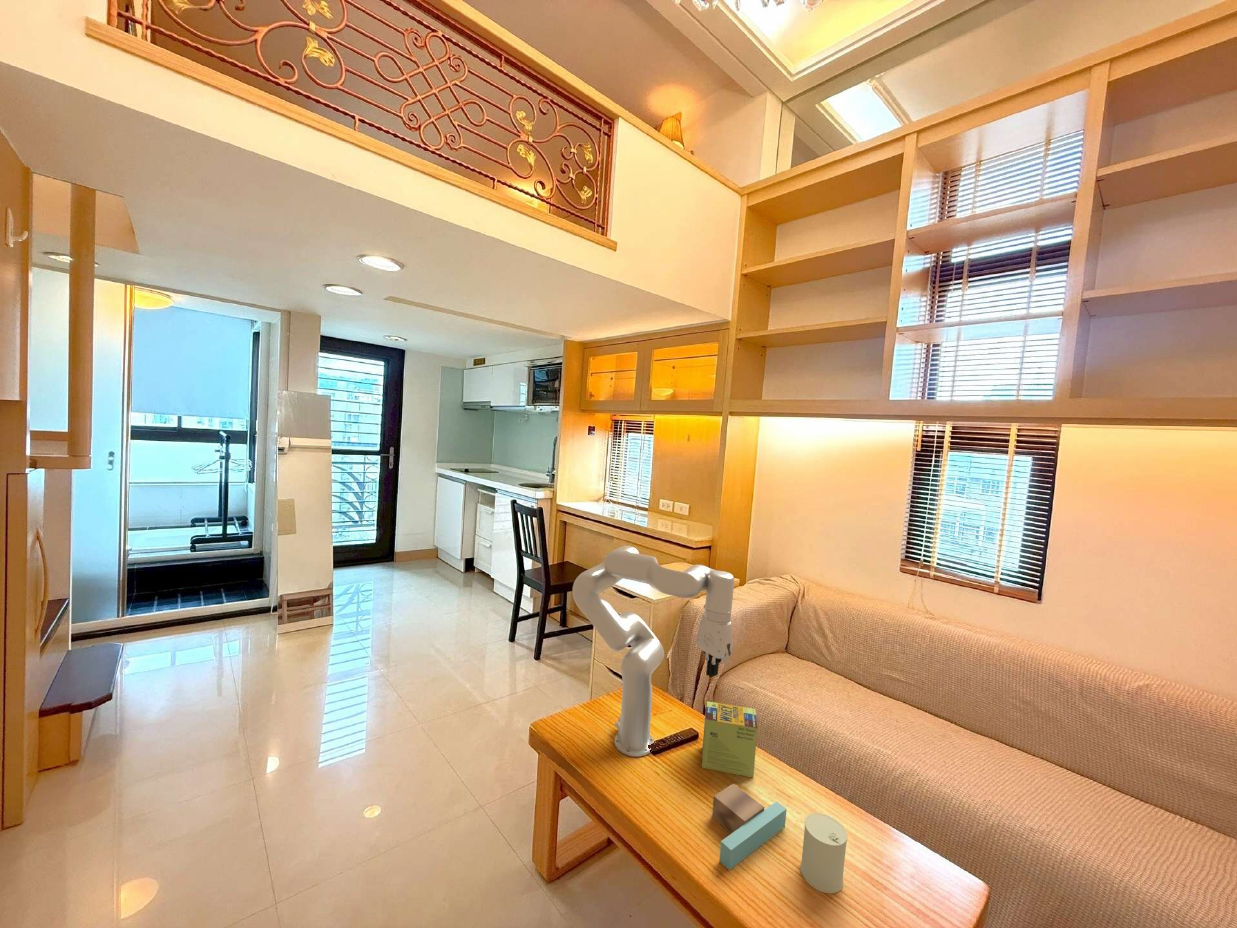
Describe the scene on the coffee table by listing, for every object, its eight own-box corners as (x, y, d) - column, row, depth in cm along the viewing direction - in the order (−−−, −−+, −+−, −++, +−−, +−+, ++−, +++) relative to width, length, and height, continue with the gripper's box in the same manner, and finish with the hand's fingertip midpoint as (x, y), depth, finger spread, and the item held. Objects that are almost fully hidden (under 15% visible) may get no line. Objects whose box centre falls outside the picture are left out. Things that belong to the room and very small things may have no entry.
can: (821, 899, 108) (826, 848, 107) (791, 864, 117) (795, 816, 116) (852, 885, 112) (857, 836, 111) (820, 852, 120) (825, 806, 119)
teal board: (719, 860, 116) (720, 840, 116) (775, 819, 130) (776, 801, 129) (729, 870, 114) (731, 850, 114) (784, 826, 127) (786, 808, 127)
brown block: (712, 817, 130) (713, 795, 129) (731, 804, 135) (733, 783, 134) (742, 843, 122) (744, 821, 121) (762, 828, 127) (764, 807, 126)
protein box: (754, 778, 145) (758, 728, 144) (701, 768, 148) (704, 718, 147) (751, 755, 155) (755, 708, 154) (702, 746, 158) (705, 700, 157)
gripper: (690, 607, 146) (684, 666, 148) (728, 626, 134) (722, 690, 136) (708, 603, 151) (702, 660, 152) (746, 621, 139) (740, 683, 140)
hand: (711, 674), depth 144 cm, fingers closed
